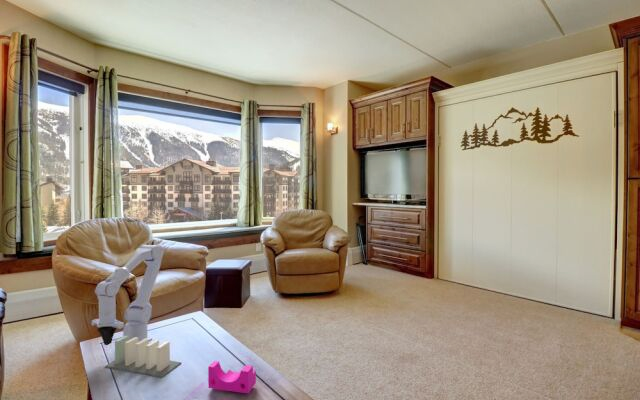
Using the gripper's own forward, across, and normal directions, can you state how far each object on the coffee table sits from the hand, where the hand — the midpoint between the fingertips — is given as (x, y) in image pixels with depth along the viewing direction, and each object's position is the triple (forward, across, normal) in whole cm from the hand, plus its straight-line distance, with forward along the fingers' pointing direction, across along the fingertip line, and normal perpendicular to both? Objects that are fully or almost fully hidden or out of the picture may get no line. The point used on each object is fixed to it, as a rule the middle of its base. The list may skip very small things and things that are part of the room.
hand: (107, 343), depth 130 cm
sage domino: (+6, +7, 0) cm, 9 cm away
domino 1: (+6, +12, 0) cm, 14 cm away
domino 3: (+6, +22, 0) cm, 23 cm away
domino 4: (+6, +27, 0) cm, 28 cm away
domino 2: (+6, +17, 0) cm, 18 cm away
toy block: (+7, +58, -2) cm, 59 cm away
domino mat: (+6, +18, 0) cm, 19 cm away
